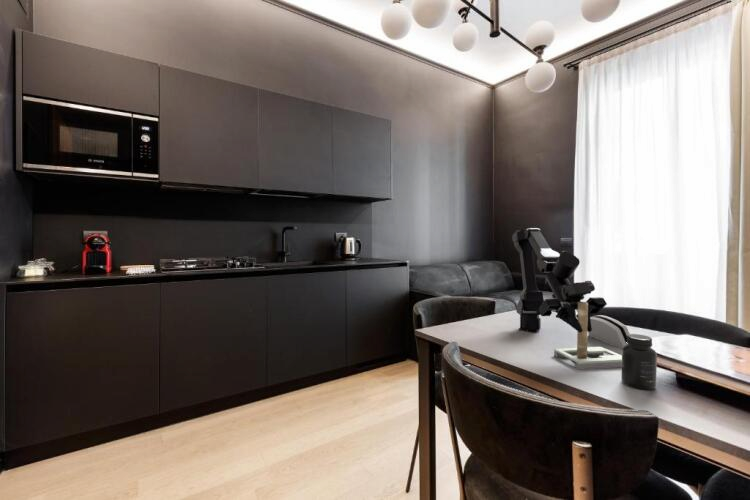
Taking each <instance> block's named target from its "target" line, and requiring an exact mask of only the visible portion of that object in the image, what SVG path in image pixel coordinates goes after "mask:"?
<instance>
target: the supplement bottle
mask: <svg viewBox="0 0 750 500" xmlns="http://www.w3.org/2000/svg"><path fill="white" fill-rule="evenodd" d="M627 343H628V345H625V346H624V347H623V348H622V349H621V355H622V367H621V376H620V377H621V382H622V383H623V384H624V385H625V386H627V387H630V388H632V389H636V390H641V391H652V390H655V389H656V388H657V373H658V372H657V371H658V370H657V367H658V363H657V362H658V354H657V352H656V350H655V349H653V339H652V337H651V336H649V335H644V334H638V333H629V335H628V336H627Z"/></svg>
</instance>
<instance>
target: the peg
mask: <svg viewBox="0 0 750 500" xmlns="http://www.w3.org/2000/svg"><path fill="white" fill-rule="evenodd" d="M577 314H578V318H577V320H578V322H579V324H580V325H581V328H582V330H583V331H582V332H581V333H580V332H578V331H577V330H576V331H577V334H576V336H577V337H576V338H577V341H576V346H577V347H576V348H577V355H575V356H574V357H576V358H578V359H591V358H592V357H588V355H587V347H588V303H587V302H586V301H581V302H578V313H577Z"/></svg>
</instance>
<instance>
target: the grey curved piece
mask: <svg viewBox="0 0 750 500" xmlns="http://www.w3.org/2000/svg"><path fill="white" fill-rule="evenodd" d="M590 320H591V327H592V331H591V332H588V331H587V335H588V336H589V337H592V338H594V339H595V340H599V341H601V342H603V343H607V344H608V345H611V346H613V347H616V348H618V349H621V350H622V348H623V347H624V346H625V345H626V342H627V336H628V335H629V334H630V331H629V329H628V327H627V326H626V325H625V324H624V323H622V322H620V320H617V319H615V318H612V317H609V316H607V315H602V314H600V315H599V314H598V315H597V314H595V315H591V316H590Z"/></svg>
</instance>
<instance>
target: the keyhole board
mask: <svg viewBox="0 0 750 500" xmlns="http://www.w3.org/2000/svg"><path fill="white" fill-rule="evenodd" d="M553 350H554V351H553V353H554V354H553V356H554V357H556V358H562V357H564V358H567V359H569V360H570V361H573V362H575V366H576V369H578V370H592V369H608V368H609V369H610V368H622V354H619V353H617V352H614V351H612V350H609V349H607V348H606V347H605V348H604V347H602V346H587V356H598V357H597V358H595V357H593V358H592V357H590V358H591V359H578V358H576V357H574V356H575V355H577V347H564V348H554V349H553ZM605 353H606V354H607V355H604V354H605Z"/></svg>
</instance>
